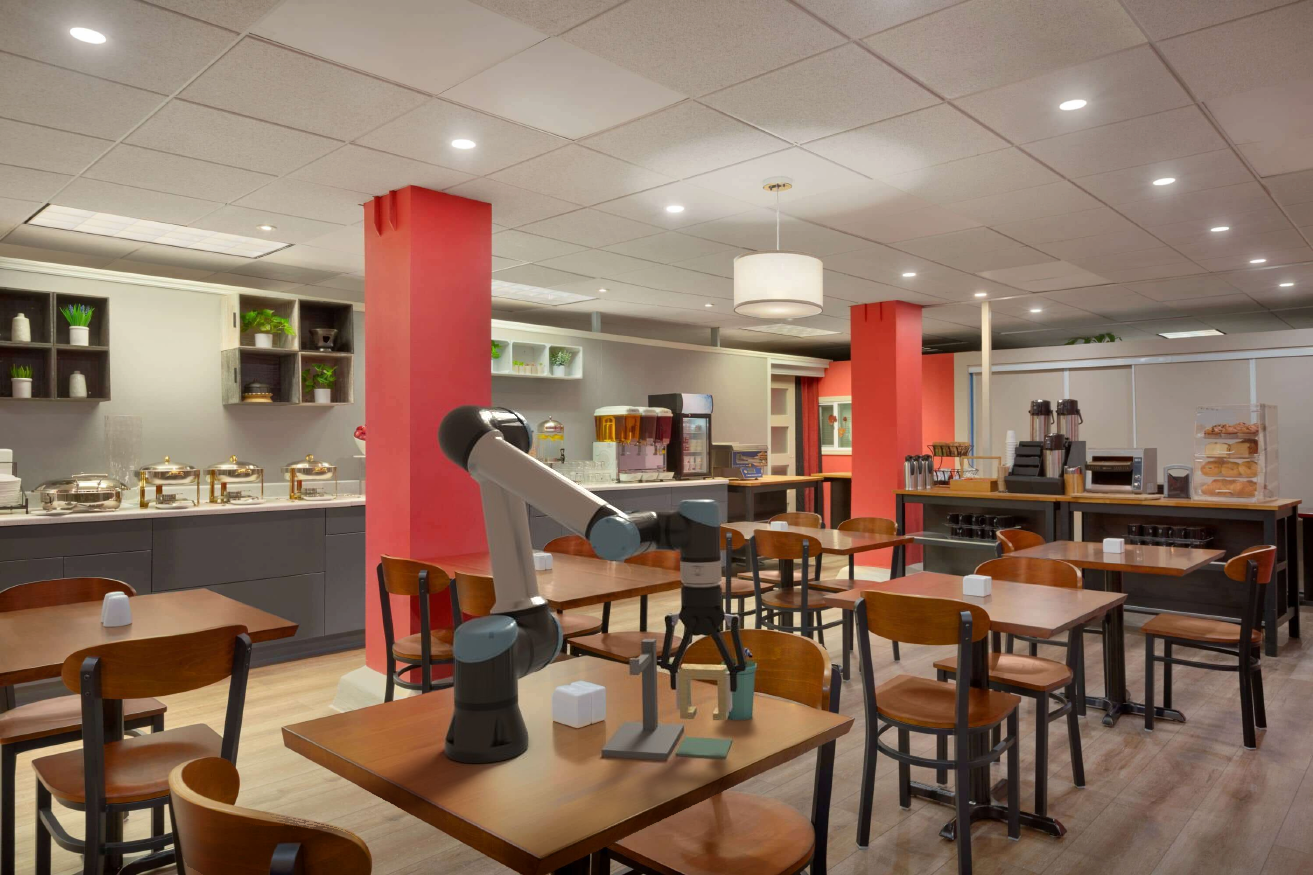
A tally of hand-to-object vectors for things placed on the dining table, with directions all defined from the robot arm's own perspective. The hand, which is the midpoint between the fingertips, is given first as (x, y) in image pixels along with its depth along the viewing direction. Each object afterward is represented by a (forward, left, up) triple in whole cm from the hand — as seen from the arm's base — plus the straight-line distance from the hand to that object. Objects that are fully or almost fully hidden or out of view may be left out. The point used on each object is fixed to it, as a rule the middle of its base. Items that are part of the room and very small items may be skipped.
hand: (704, 708), depth 151 cm
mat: (0, 0, -7) cm, 7 cm away
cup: (+4, +19, -8) cm, 21 cm away
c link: (0, 0, -2) cm, 2 cm away
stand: (-12, +1, -7) cm, 14 cm away
